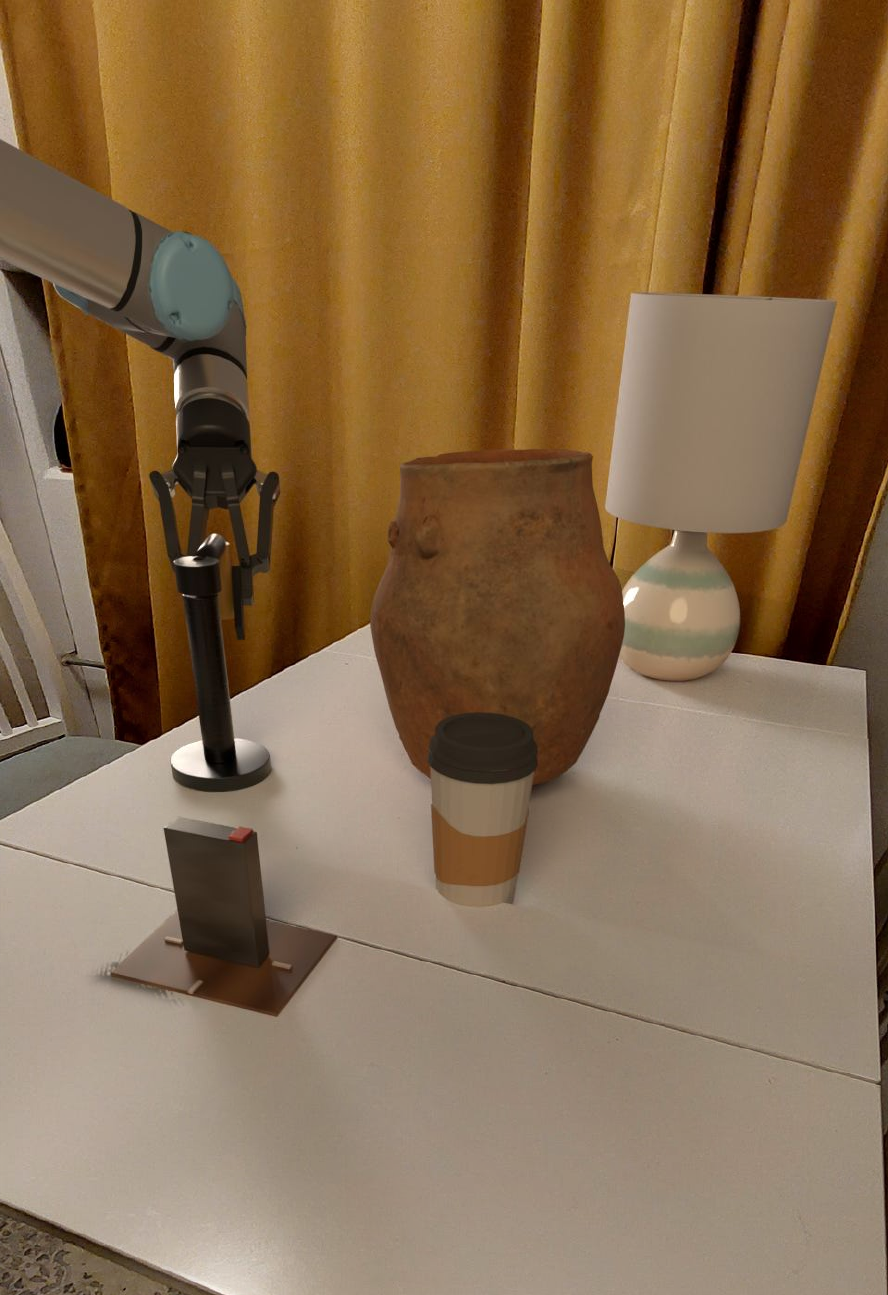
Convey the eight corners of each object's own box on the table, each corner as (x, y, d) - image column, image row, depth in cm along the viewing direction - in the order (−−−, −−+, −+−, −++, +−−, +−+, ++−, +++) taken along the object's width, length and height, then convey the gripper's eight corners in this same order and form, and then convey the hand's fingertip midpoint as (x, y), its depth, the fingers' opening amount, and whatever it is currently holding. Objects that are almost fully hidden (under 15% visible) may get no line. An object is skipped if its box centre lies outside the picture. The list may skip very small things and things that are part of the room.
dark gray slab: (184, 951, 68) (162, 824, 62) (196, 937, 69) (176, 812, 63) (258, 968, 67) (243, 840, 60) (270, 954, 68) (256, 828, 62)
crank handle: (224, 655, 88) (214, 564, 83) (181, 655, 88) (168, 563, 83) (245, 612, 99) (237, 530, 94) (207, 612, 99) (197, 529, 94)
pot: (486, 712, 112) (502, 420, 94) (651, 777, 99) (707, 453, 80) (328, 768, 98) (311, 440, 80) (494, 853, 85) (520, 483, 67)
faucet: (153, 782, 94) (121, 601, 84) (204, 745, 102) (181, 574, 91) (242, 799, 92) (221, 614, 81) (287, 759, 100) (273, 586, 89)
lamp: (636, 634, 138) (687, 293, 113) (776, 669, 127) (866, 301, 103) (554, 671, 124) (593, 291, 100) (704, 713, 114) (788, 301, 89)
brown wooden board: (114, 996, 67) (108, 971, 66) (188, 922, 75) (185, 899, 73) (278, 1037, 64) (275, 1012, 63) (338, 956, 72) (337, 932, 70)
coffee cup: (541, 920, 76) (560, 745, 67) (446, 939, 74) (453, 760, 65) (499, 870, 82) (511, 704, 73) (410, 887, 80) (411, 716, 71)
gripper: (291, 445, 102) (302, 649, 100) (143, 444, 101) (151, 652, 98) (287, 394, 95) (299, 613, 92) (127, 392, 93) (135, 615, 90)
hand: (223, 633), depth 95 cm, fingers closed on crank handle, 3 cm apart
